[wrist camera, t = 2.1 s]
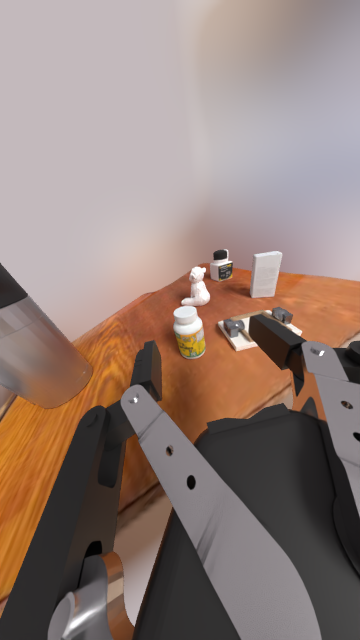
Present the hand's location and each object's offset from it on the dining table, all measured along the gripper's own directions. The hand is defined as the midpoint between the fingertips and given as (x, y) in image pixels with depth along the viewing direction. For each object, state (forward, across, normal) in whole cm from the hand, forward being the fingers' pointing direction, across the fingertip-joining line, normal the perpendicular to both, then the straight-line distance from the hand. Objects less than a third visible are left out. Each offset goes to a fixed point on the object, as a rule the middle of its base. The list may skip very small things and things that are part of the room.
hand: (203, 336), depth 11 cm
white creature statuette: (+32, -7, +13) cm, 36 cm away
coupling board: (+13, -14, +13) cm, 23 cm away
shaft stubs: (+13, -14, +12) cm, 23 cm away
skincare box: (+28, -26, +13) cm, 40 cm away
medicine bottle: (+52, -23, +13) cm, 58 cm away
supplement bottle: (+12, 0, +13) cm, 18 cm away
